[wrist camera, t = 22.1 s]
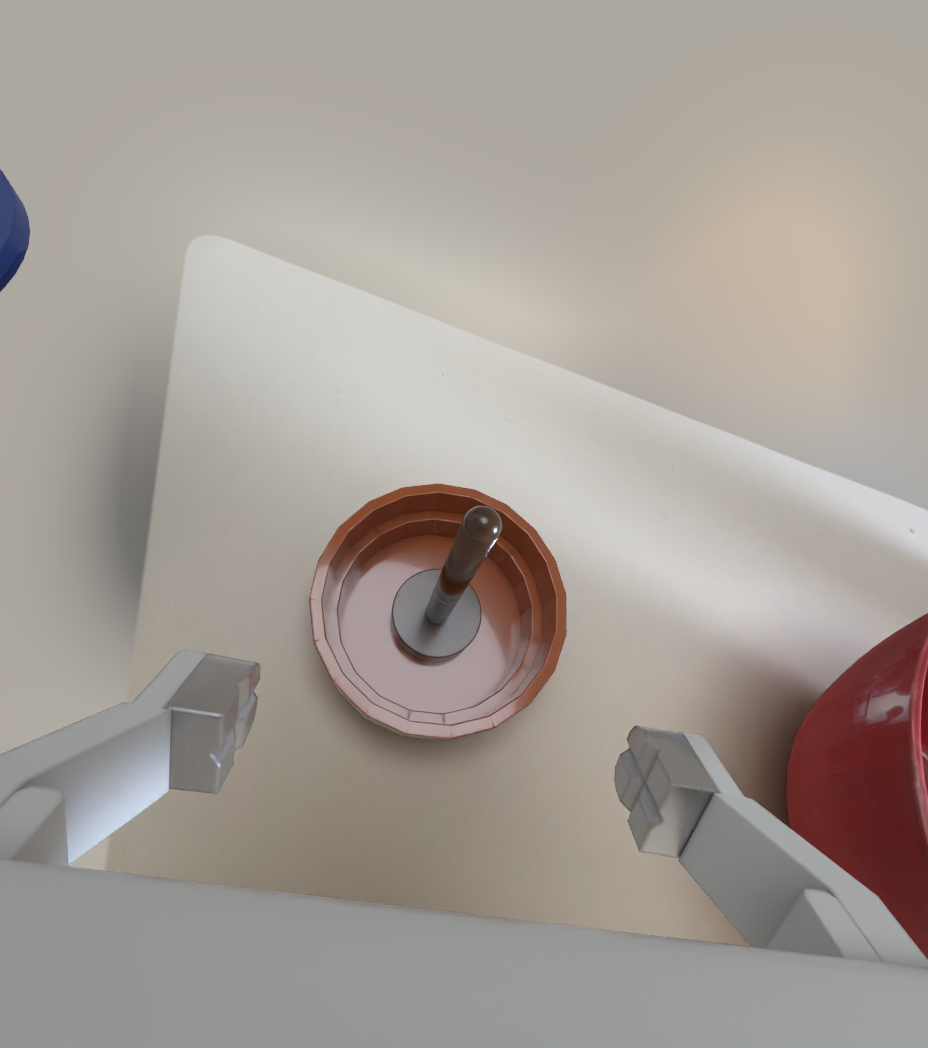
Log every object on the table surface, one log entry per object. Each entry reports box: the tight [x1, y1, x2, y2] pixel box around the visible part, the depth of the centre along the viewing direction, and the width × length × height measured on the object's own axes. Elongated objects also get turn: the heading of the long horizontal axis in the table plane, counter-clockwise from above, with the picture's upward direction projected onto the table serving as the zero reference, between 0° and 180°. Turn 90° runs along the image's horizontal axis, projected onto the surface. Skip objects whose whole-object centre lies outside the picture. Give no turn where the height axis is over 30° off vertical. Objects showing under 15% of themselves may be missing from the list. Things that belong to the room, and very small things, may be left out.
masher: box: [391, 506, 502, 662], centre depth 26 cm, size 6×6×17 cm
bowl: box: [309, 484, 566, 740], centre depth 31 cm, size 15×15×6 cm
